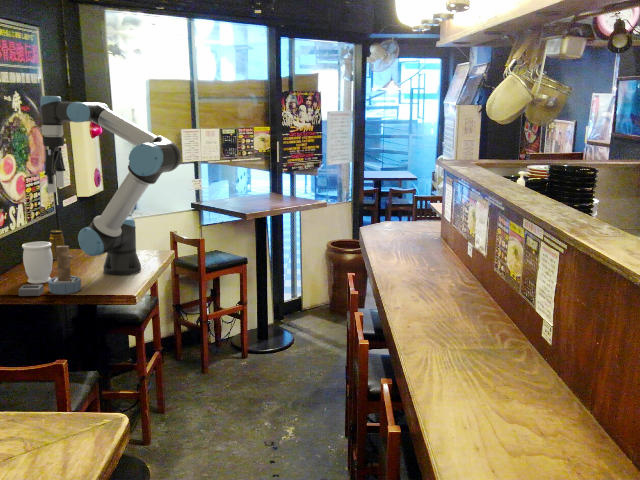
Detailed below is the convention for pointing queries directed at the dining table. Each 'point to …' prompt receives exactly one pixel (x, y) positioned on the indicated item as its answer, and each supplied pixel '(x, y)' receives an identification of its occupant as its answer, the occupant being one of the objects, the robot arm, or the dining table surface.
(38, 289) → the grey slotted block
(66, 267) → the brown long rectangular bar
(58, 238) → the condiment
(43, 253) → the jar
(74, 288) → the candle dish
